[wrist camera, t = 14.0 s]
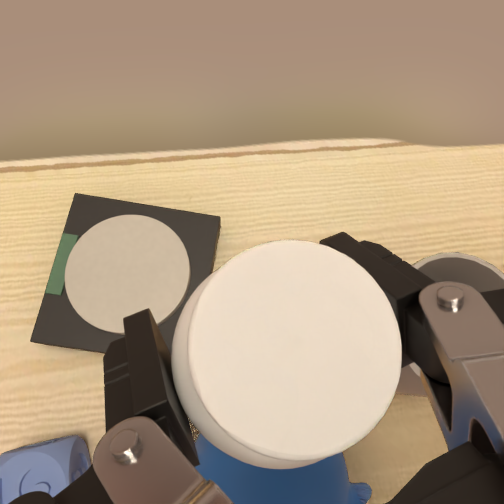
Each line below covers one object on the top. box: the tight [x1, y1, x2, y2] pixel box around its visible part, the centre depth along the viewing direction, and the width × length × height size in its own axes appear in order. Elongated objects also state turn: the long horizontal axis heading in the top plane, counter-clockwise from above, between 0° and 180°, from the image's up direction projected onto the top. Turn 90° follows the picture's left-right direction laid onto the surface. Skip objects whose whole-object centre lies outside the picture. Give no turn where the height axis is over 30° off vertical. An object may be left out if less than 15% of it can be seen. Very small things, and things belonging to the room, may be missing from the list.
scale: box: [30, 193, 220, 355], centre depth 26 cm, size 10×10×3 cm
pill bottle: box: [171, 240, 402, 469], centre depth 11 cm, size 5×5×9 cm
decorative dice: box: [0, 435, 91, 504], centre depth 22 cm, size 4×4×4 cm
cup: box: [395, 252, 504, 397], centre depth 24 cm, size 7×10×9 cm
